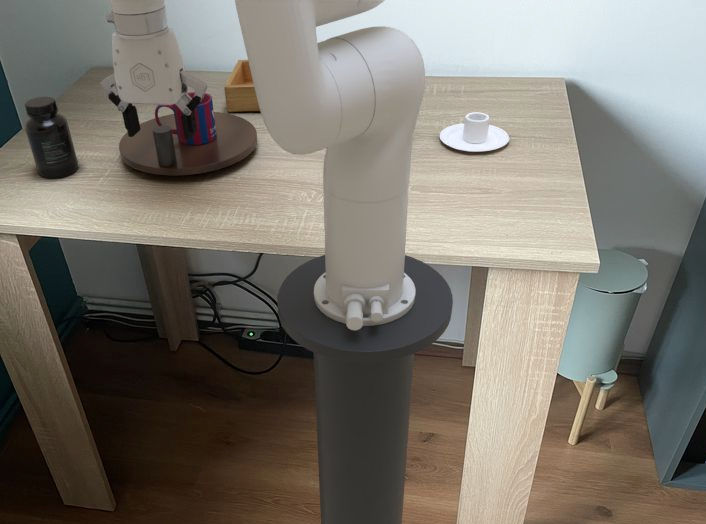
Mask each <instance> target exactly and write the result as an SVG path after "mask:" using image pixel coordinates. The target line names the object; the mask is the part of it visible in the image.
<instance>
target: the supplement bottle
mask: <svg viewBox="0 0 706 524" xmlns="http://www.w3.org/2000/svg"><path fill="white" fill-rule="evenodd" d="M24 108H25V111H26V116H27V117H28V118H27V119H26V121H25V123H24V130H25V134H26V138H27V140H28V143H29V146H30V150H31V153H32V156H33V160H34V163H35V166H36V170H37V173H38V174H39V175H40V176H42V177H43V178H47V179H60V178H64V177H67V176H70V175H72V174H74V173H75V172H77V170H78V168H79V162H78V157H77V153H76V150H75V146H74V141H73V138H72V135H71V130H70V127H69V123H68V119H67V117H65V115H64V114H62V113H60V112H59V107H58V105H57V101H56V99H55V98H54V97H52V96H46V95H45V96H37V97H32V98H30V99H28V100H26V102H25V103H24Z"/></svg>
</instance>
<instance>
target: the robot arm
mask: <svg viewBox="0 0 706 524" xmlns="http://www.w3.org/2000/svg"><path fill="white" fill-rule="evenodd" d="M109 1H110V6H111V12H107V13H106V15H105V19H106V22H107V23H111V24H113V25H114V29H115V30H116V31H114V32H112V34H111V54H112V56H111V57H112V66H113V73H112V74H110V75H109V76H106V77H105V78H104V79H103V80H101V81H100V83H99V84H100V87H101V89H102V90H103V91H104V92H105V94H106V95H107V97H108V100H109V101H110V102H111V103H113V104H114V105H115V106H116V108H117V110H118V112H119V113H121V115H122V119H123V123H124V128H125V130H126V131H127V132H128V136H129V137H133V136H134V135H135V134H137V133H138V132H139V131H140V124H141V123H140V120H139V119H140V118H139V114H138V109H137V107H136V105H153V106H154V105H157V106H158V105H172V104H176V105H177V106H178V108H179V109H180V110H181V111H182V112H183V115H182V116H181V121H182V127H183V133H184V139H186V140H190V139H191V138H192V137H193V136H194V135H195V133H196V131H197V124H196V117H195V109H196V108H197V106H198V105H199V104H200V103H201V102H202V100H203V97H204V95H205V93H207V92H206V91H207V89H208V84H207V82H205V81H203V80H201V79H200V78H198V77H196V76H194V75H193V74H190V73H189V72H187V71H186V69H185V63H184V59H183V56H182V53H181V52H182V51H181V49H180V45H179V43H178V39H177V36H176V34H175V31H174V29H173V28H170V26H169V22H168V21H169V20H168V15H167V9H166V5H165V4H166V3H165V0H109ZM385 1H386V0H234V3H235V8H236V9H235V10H236V13H237V18H238V23H239V26H240V30H241V35H242V39H243V43H244V44H243V45H244V49H245V52H246V58H247V60H248V62H249V66H250V70H251V75H252V79H253V83H254V88H255V92H256V96H257V100H258V104H259V108H260V111H259V112H260V115H261V118H262V120H263V123H264V126H265V128H266V130H267V132H268V134H269V135H270V137H271V138H272V140H273V142H274V143H276V145H277V146H278V147H279V148H280V149H282V150H283V151H285V152H287V153H290V154H292V155H298V156H303V155H309V154H313V153H314V154H315V153H316V152H320V151H322V150H325V154H324V159H323V168H322V181H323V182H322V187H323V188H322V189H323V226H324V227H323V228H324V229H323V230H324V255H325V268H326V272H325V273H324V274H323V275H321V276H320V277H319V279H318V280H317V281H316V284H315V286H314V301H315V303H316V306H317V307H318V308H319V310H320V311H321V312H322V313H324V314H325V315H326V316H328V317H329V318H331V319H333V320H335V321H338V322H341V323H344V324H346V325H347V327H348V328H349V329H351V330H359V329H360V328H362V326H375V325H381V324H385V323H389V322H392V321H394V320H396V319H398V318H400V317H402V316H403V315H405V314H406V313H407V312H408V311H409V310H410V309H411V308H412V306H413V304H414V301H415V292H416V289H415V285H414V283H413V281H412V280H411V278H410V277H409V276H408V275H406V274H405V273H404V262H405V255H406V242H407V227H408V226H407V222H408V205H409V187H410V178H411V177H410V175H411V163H412V161H411V160H412V152H413V151H412V150H413V143H414V136H415V131H416V127H417V123H418V119H419V115H420V111H421V107H422V103H423V99H424V93H425V88H426V68H425V62H424V59H423V56H422V53H421V50H420V48H419V46H418V45H417V43H416V42H415V41H414V40H413V39H412V38H411V37H410V36H409V35H408V34H407V33H405V32H404V31H402V30H400V29H398V28H394V27H390V26H369V27H364V28H359V29H356V30H354V31H353V30H352V31H350V32H346V33H343V34H339V35H336V36H332V37H329V38H327V39H325V40H322V41H319V42H318V38H317V27H320V26H324V25H327V24H330V23H334V22H338V21H342V20H344V19H348V18H351V17H353V16H358V15H360V14H361V15H362V14H363V13H366V12H369V11H370V10H373V9H375V8H376V7H378V6H380V5H382V3H384V2H385ZM189 87H190V88H191V89H193V90H194V92H195V94H194V97H193V99H192V98H191V97H190V96H189V95H188V94H187V93H188V90H189V89H188V88H189ZM133 104H134V105H133ZM127 132H126V133H127Z"/></svg>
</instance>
